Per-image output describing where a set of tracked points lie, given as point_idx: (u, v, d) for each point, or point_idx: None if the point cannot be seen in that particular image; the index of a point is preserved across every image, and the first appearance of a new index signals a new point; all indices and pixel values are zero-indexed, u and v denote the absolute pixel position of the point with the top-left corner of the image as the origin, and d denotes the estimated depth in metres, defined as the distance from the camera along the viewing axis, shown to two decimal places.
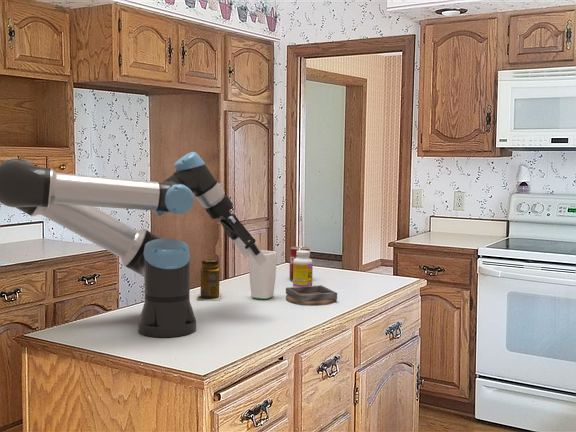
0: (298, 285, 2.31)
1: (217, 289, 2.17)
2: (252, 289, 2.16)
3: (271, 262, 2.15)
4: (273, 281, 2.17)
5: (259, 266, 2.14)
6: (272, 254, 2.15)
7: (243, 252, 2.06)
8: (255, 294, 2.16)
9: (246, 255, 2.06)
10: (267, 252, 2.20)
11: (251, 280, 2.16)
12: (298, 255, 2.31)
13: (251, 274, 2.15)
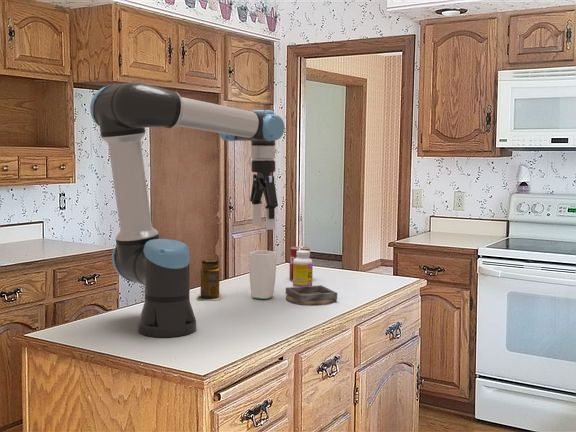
0: (298, 285, 2.31)
1: (217, 289, 2.17)
2: (252, 289, 2.16)
3: (271, 262, 2.15)
4: (273, 281, 2.17)
5: (259, 266, 2.14)
6: (272, 254, 2.15)
7: (254, 218, 2.21)
8: (255, 294, 2.16)
9: (255, 223, 2.21)
10: (267, 252, 2.20)
11: (251, 280, 2.16)
12: (298, 255, 2.31)
13: (251, 274, 2.15)
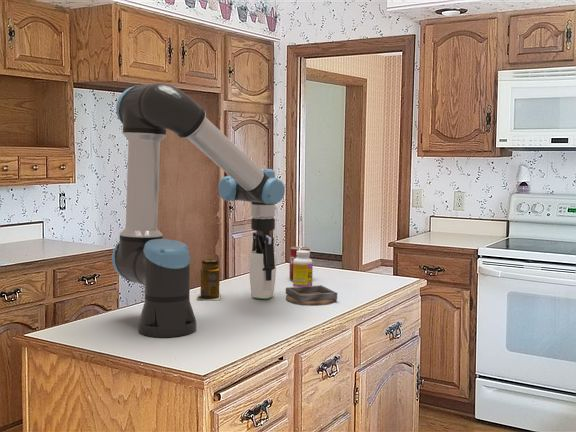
0: (298, 285, 2.31)
1: (217, 289, 2.17)
2: (252, 289, 2.16)
3: None
4: (273, 281, 2.17)
5: (259, 266, 2.14)
6: None
7: None
8: (255, 294, 2.16)
9: None
10: None
11: (251, 280, 2.16)
12: (298, 255, 2.31)
13: (251, 274, 2.15)
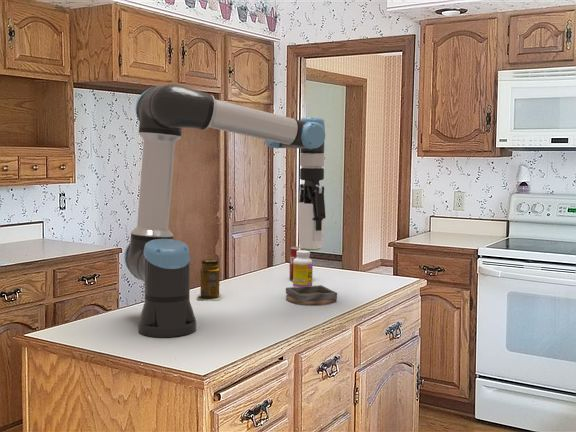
0: (298, 285, 2.31)
1: (217, 289, 2.17)
2: (301, 240, 2.13)
3: None
4: (322, 232, 2.14)
5: (309, 216, 2.10)
6: None
7: None
8: (304, 245, 2.13)
9: None
10: None
11: (300, 231, 2.13)
12: (298, 255, 2.31)
13: (300, 225, 2.12)
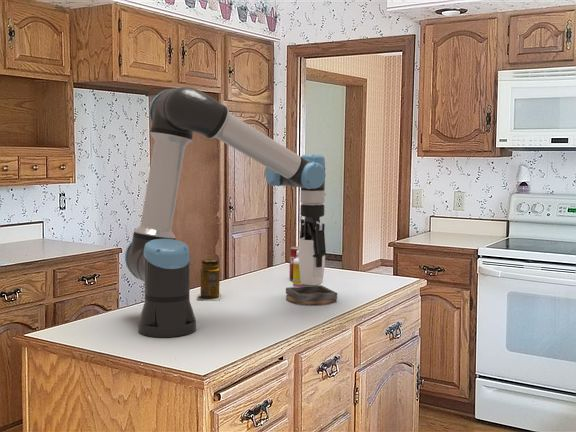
0: (298, 285, 2.31)
1: (217, 289, 2.17)
2: (302, 276, 2.14)
3: None
4: (323, 268, 2.15)
5: (309, 253, 2.12)
6: None
7: None
8: (305, 281, 2.14)
9: None
10: None
11: (301, 267, 2.14)
12: (298, 255, 2.31)
13: (301, 261, 2.13)
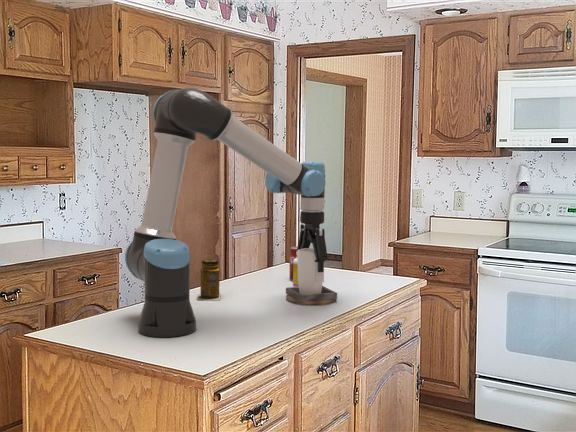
0: None
1: (217, 289, 2.17)
2: (300, 287, 2.15)
3: None
4: None
5: (308, 264, 2.13)
6: None
7: None
8: (303, 292, 2.15)
9: None
10: None
11: (299, 278, 2.15)
12: None
13: (299, 272, 2.14)
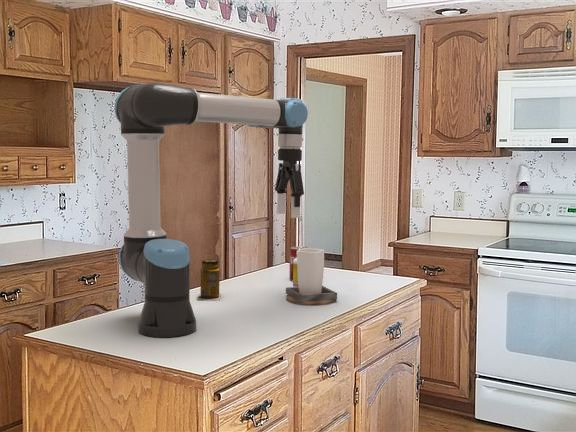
0: None
1: (217, 289, 2.17)
2: (300, 287, 2.15)
3: (320, 260, 2.14)
4: (321, 279, 2.16)
5: (308, 264, 2.12)
6: (320, 252, 2.14)
7: (278, 208, 2.21)
8: (303, 292, 2.15)
9: (279, 212, 2.21)
10: (315, 250, 2.18)
11: (299, 278, 2.15)
12: None
13: (299, 272, 2.14)
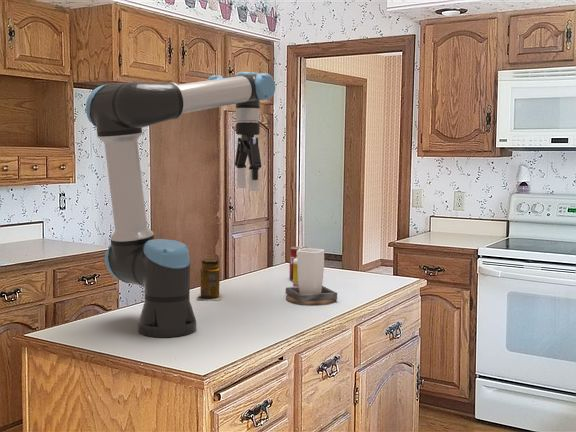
0: None
1: (217, 289, 2.17)
2: (300, 287, 2.15)
3: (320, 260, 2.14)
4: (321, 279, 2.16)
5: (308, 264, 2.12)
6: (320, 252, 2.14)
7: (238, 182, 2.22)
8: (303, 292, 2.15)
9: (239, 186, 2.23)
10: (315, 250, 2.18)
11: (299, 278, 2.15)
12: None
13: (299, 272, 2.14)
